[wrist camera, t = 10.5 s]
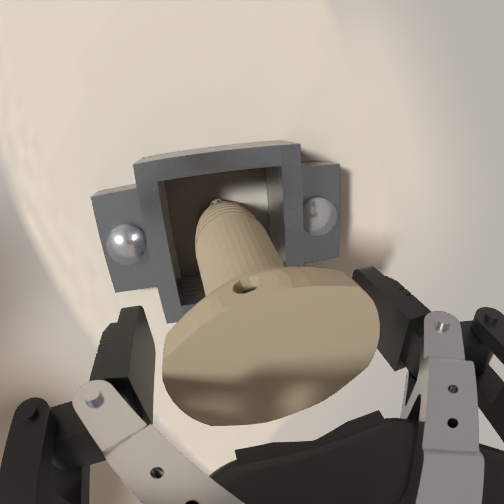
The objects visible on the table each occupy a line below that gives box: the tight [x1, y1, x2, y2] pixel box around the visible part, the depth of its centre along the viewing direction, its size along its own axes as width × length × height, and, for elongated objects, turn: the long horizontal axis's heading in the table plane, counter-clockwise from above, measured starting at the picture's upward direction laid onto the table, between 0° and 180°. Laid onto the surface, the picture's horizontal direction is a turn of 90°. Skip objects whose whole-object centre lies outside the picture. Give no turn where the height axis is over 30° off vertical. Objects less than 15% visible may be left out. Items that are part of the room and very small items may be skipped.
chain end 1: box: [91, 142, 281, 323], centre depth 20 cm, size 10×12×4 cm
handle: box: [162, 198, 380, 426], centre depth 15 cm, size 5×6×15 cm
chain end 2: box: [181, 140, 340, 316], centre depth 20 cm, size 10×12×4 cm
